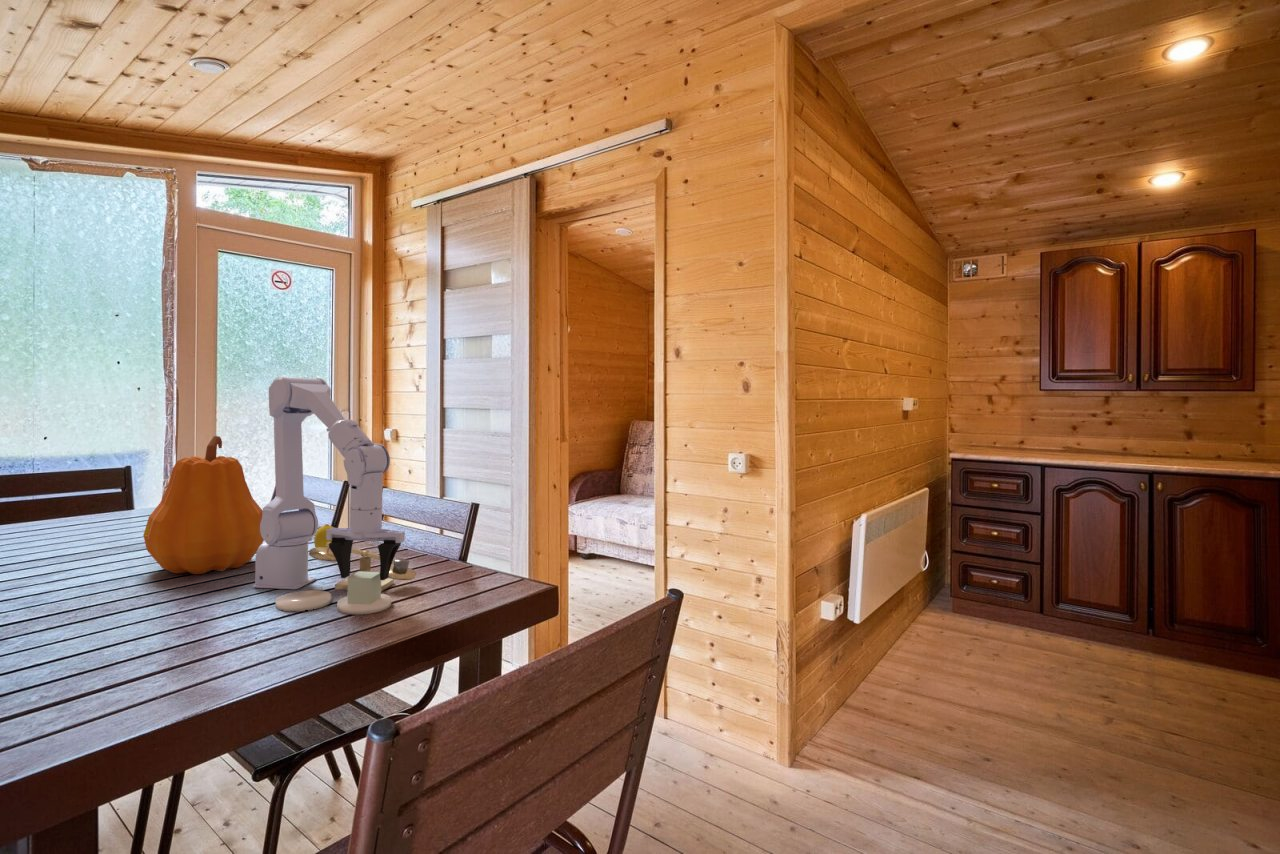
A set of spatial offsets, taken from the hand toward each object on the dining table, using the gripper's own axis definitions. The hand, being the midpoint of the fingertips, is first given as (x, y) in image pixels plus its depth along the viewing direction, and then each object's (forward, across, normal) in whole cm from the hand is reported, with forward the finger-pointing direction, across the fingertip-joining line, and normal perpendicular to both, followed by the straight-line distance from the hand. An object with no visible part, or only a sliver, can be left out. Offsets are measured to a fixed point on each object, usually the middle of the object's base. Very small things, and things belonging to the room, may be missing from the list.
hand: (364, 577), depth 128 cm
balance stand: (+6, -6, +13) cm, 15 cm away
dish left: (+6, -12, 0) cm, 13 cm away
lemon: (+6, -27, +37) cm, 46 cm away
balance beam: (+1, -6, +13) cm, 15 cm away
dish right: (+6, 0, 0) cm, 6 cm away
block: (+4, 0, 0) cm, 4 cm away
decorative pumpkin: (+6, -47, +22) cm, 52 cm away
